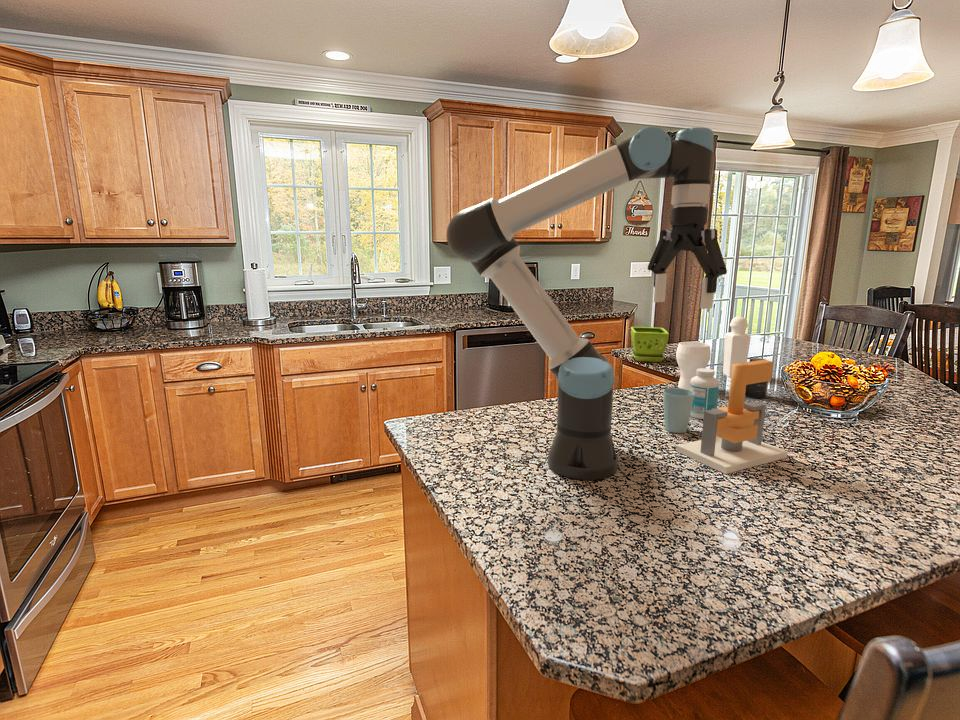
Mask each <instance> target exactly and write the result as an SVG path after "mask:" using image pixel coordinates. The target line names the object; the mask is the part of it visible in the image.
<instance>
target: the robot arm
mask: <svg viewBox="0 0 960 720" xmlns="http://www.w3.org/2000/svg"><path fill="white" fill-rule="evenodd" d="M714 134H715V133H714V131H713V130H712V129H711V128H708V127H703V126H702V127H700V126H699V127H691V128H690V127H688V128H683V129H680V130H678V131H677V132H676V134H675V138H674V139H672V140H671V137H670V135H669V134H668V132H666V130H665V129H663V128H661V127H658V126H654V125H651V126H646V127H643V128H642V129H640V130H638V131H637V132H636V133H634V134H633V136H632V137H629V138H626V139H625V140H622V141H621V142H619V143H617V144H614V145H612V146H610V147H608V148H606V149H604V150H601V151H599V152H598V153H596V154H593V155H592V156H589V157H587V158H585V159H583V160H581V161H579V162H577V163H575V164H572V165H570V166H569V167H565V168H563V169H561V170H559V171H558V172H555V173H553V174H551V175H549V176H547V177H545V178H543V179H541V180H538V181H537V182H534V183H532V184H530V185H528V186H526V187H524V188H522V189H519V190H517V191H515V192H513V193H511V194H508V195H507V196H505V197H503V198H500V199H497V198H494V197H491V198H489V199H487V200H484V201H482V202H480V203H478V204H476V205H472V206H470V207H467V208H464V209H461V210H460V211H458V212H457V213H456V214H454V216H453V217H452V218H451V219H450V221H449V223H448V225H447V229H446V241H447V244H448V247H449V249H450V251H451V252H452V253H453V254H454V256H456V257H458V258H459V259H461V260H463V261H465V262H470V263H471V265H472V266H473V268H474V269H475V270H476V271H477V273H478V274H479V275H480V277H482V278H487V279H490V280H491V281H492V282H493V284H494V285H495V287H496V288H497V289H498V291H499V292H500V293H501V295H502V296H503V297H504V299H506V301H507V303H508V304H509V306H510V307H511V308H512V309H513V311H514V312H515V314H517V316H518V318H519V319H520V321H522V324H523V325H524V326H525V327H526V328H527V330H528V331H529V332H530V333H531V335H532V337H533V338H534V340H536V342H537V343H538V345H539V346H540V347H541V349H542V350H543V351H544V353H545V354H546V356H547V357H548V358H549V363H548V369H549V370H550V372H551V374H553V376H554V378H556V380H557V384H558V385H557V386H558V387H557V412H556V413H557V416H556V419H557V420H556V433H555V436H554V438H553V441H552V444H551V447H550V450H549V451H548V455H547V465H548V468H549V469H550V470H551V471H553V472H554V473H556V474H558V475H560V476H563V477H566V478H569V479H574V480H583V481H594V480H602V479H607V478H609V477H611V476H613V475H615V474H616V473H617V472H618V471H617V470H618V456H617V452H616V449H615V445H614V442H613V438H612V420H613V418H612V416H613V402H614V401H613V400H614V399H613V397H614V385H615V375H614V374H615V372H614V368H613V366H612V364H610V363H609V361H608V359H607V358H606V357H605V356H604V355H602V354H601V353H599V352H598V350H597V349H596V347H595V346H594V345H593V344H592V343H591V342H592V341H590V340H589V338H584V337H580V336H579V335H578V334H577V332H575V330H574V329H573V327H572V326H571V324H570V323H569V322H568V320H567V319H566V318H565V317H564V315H563V314H562V312H561V310H559V308H558V307H557V305H556V304H555V302H554V301H553V300H552V298H551V297H550V296H549V295H548V293H547V292H546V291H545V289H544V288H543V286H542V285H541V284H540V282H539V281H538V280H537V278H536V277H535V276H534V274H533V273H532V272H531V270H530V269H529V267H528V266H527V265H526V263H525V261H523V259H522V258H521V256H520V253H521V246H520V244H519V243H518V241H517V240H516V238H515V237H514V235H516V234H517V233H519V232H521V231H525V230H526V229H529V228H531V227H533V226H535V225H537V224H539V223H542V222H543V221H546V220H548V219H551V218H553V217H554V216H557V215H559V214H561V213H564V212H565V211H568V210H570V209H571V208H574V207H576V206H578V205H581V204H584V203H585V202H587V201H590V200H592V199H593V198H596V197H598V196H601V195H603V194H605V193H607V192H609V191H612V190H613V189H617V188H619V187H620V186H622V185H623V186H624V185H625V184H627V183H629V182H631V181H633V180H634V181H635V180H642V179H644V180H647V179H648V180H649V179H672V188H671V189H672V190H671V199H670V200H671V202H670V205H671V206H673V207H672V208H671V209H670V215H669V216H670V217H669V218H670V219H669V224H670V226H671V227H672V228H671V229H661V230H660V231H659V238H658V242H657V244H656V246H655V248H654V251H653V253H652V256H651V258H650V260H649V262H648V265H647V270H648V271H651V272H653V288H654V292H653V293H654V295H653V297H654V298H653V303H665V302H666V294H667V293H666V292H667V291H666V289H667V278H668V273H667V271H666V270H667V269H668V267H669V266H670V265H671V263H672V261H674V259H676V258H675V257H676V256H677V255H678V253H680V252H681V251H687V252H689V251H690V252H691V253H692V254H693V255H694V257H695V259H696V261H697V262H698V264H699V265H700V267H701V268H702V271H703V273H704V274H705V275H704V277H702V284H701V296H700V306H699V309H701V310H707V309H712V308H713V303H714V294H715V293H716V292H717V285H718V279H719V277H720V276H723V275H726V274H727V273H728V270H727V266H726V263H725V260H724V257H723V253H722V250H721V247H720V244H719V240H718V229H716V228H705V225H707V224H708V215H709V214H708V213H709V208H708V207H707V206H706V205H708V204H709V200H710V192H711V191H710V190H711V179H712V170H713V169H712V167H713V159H714V158H713V157H714V153H715V150H714V145H715V144H714V140H715V139H714V137H715V135H714Z"/></svg>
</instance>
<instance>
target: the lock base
mask: <svg viewBox="0 0 960 720" xmlns="http://www.w3.org/2000/svg"><path fill="white" fill-rule="evenodd" d="M766 407H767V404H766V403H762V402H759V401H750V402H744V409H749V410H752V411H756V410H759V419H755V420H754V424H756V425H758V429H757V438H756V439H751V440H747V441H743V442H739V443H733V442H730V441H728V440H725V439H723V438H720V437H718V436H716V433H717V423H718V418H722V417H727V414H728V412H726V411H723V410H720V409H718V408H717V409H713V410H708V411H704V419H702V429H701V430H702V431H701V439H698V440H694V441H690V442H685V443H681V444H677V445H676V450H675V451H676V452H677V453H679V454H682V455H684V456H686V457H688V458H690V459H692V460H694V459H695V460H694V461H696V462H698V463H701V464H703V465H705V466H707V467H709V468H712V469H714V470H715V471H719V472H720V471H721V473H722V472H723V473H722V474H724V473H725V474H724V475H728V474H731V473H734V472H738V471H742V470H746V469H749V468H754V467H757V466H761V465H765V464H768V463H771V462H772V463H773V462H776V461H780V460H782V459H787V458H788V453H789V452H788V451H787V450H784V449H782V448H779V447H777V446H774V445H771V444H769V443H766V442H763V441H762V440H763V432H764V424H765V416H766ZM727 473H728V474H727Z"/></svg>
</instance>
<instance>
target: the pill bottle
mask: <svg viewBox="0 0 960 720" xmlns="http://www.w3.org/2000/svg"><path fill="white" fill-rule="evenodd" d="M696 374H697V376H695V377H693V378H692V379H691V381H690V391H693V392H694V393H695V394H694V399H693V404H692V409H691V413H690V417H692V418H694V419H699V420H703V419H704V411H708V410H713V409H718V398H719V388H720V381H719V380H718V379H717V378H716V377H714V376H715V374H716V372H715V370H714V369H712V368H707V367H706V368H699V369H697V371H696Z"/></svg>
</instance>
